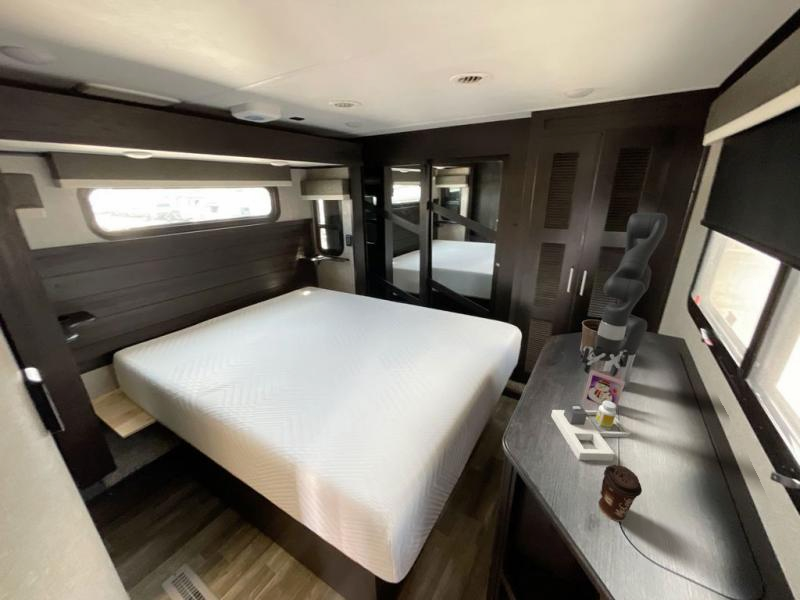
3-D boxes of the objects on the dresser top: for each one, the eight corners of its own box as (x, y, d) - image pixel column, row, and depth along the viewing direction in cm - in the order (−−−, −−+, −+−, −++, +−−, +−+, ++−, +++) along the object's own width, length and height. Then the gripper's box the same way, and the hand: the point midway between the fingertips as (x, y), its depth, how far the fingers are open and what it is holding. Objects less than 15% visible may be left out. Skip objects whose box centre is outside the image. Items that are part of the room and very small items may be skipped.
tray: (608, 413, 119) (609, 410, 118) (628, 437, 108) (630, 433, 107) (578, 413, 119) (579, 410, 118) (596, 436, 108) (597, 433, 108)
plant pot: (618, 361, 154) (626, 333, 148) (586, 361, 154) (593, 333, 148) (598, 345, 169) (606, 319, 163) (569, 345, 169) (576, 319, 163)
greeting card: (581, 401, 126) (590, 370, 120) (586, 392, 131) (594, 363, 125) (614, 414, 118) (624, 382, 113) (617, 405, 124) (628, 374, 118)
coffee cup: (586, 495, 88) (597, 462, 83) (613, 493, 88) (625, 460, 84) (608, 526, 80) (621, 492, 75) (637, 524, 80) (652, 489, 76)
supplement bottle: (591, 422, 115) (597, 401, 111) (600, 417, 117) (606, 397, 113) (605, 431, 110) (612, 410, 107) (614, 427, 112) (621, 406, 109)
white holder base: (579, 416, 117) (584, 398, 114) (612, 460, 99) (619, 440, 96) (551, 416, 117) (555, 398, 114) (578, 459, 99) (584, 439, 96)
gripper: (628, 331, 107) (615, 370, 112) (584, 327, 109) (574, 365, 115) (639, 341, 100) (625, 382, 105) (592, 337, 102) (581, 377, 108)
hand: (598, 373), depth 110 cm, fingers open, 8 cm apart
